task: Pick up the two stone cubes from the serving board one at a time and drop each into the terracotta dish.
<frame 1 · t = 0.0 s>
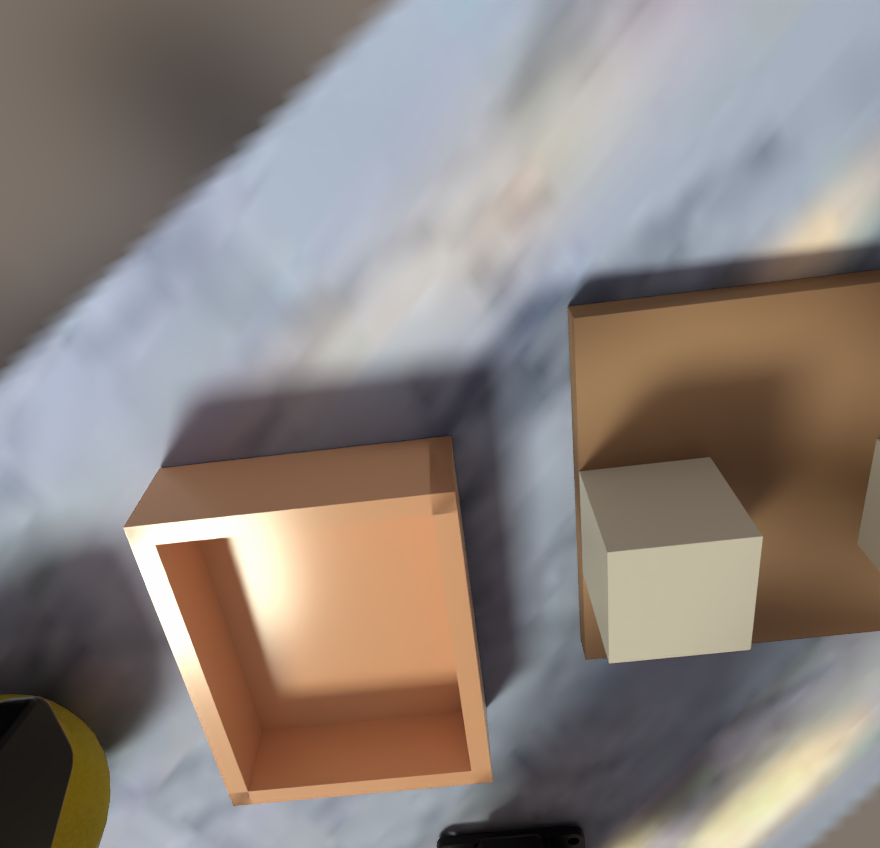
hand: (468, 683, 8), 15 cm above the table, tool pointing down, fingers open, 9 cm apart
board: (774, 472, 24), on the table
lemon: (44, 719, 29), on the table
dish: (339, 600, 26), on the table
stone a: (643, 517, 23), point 1 cm above the table, touching board
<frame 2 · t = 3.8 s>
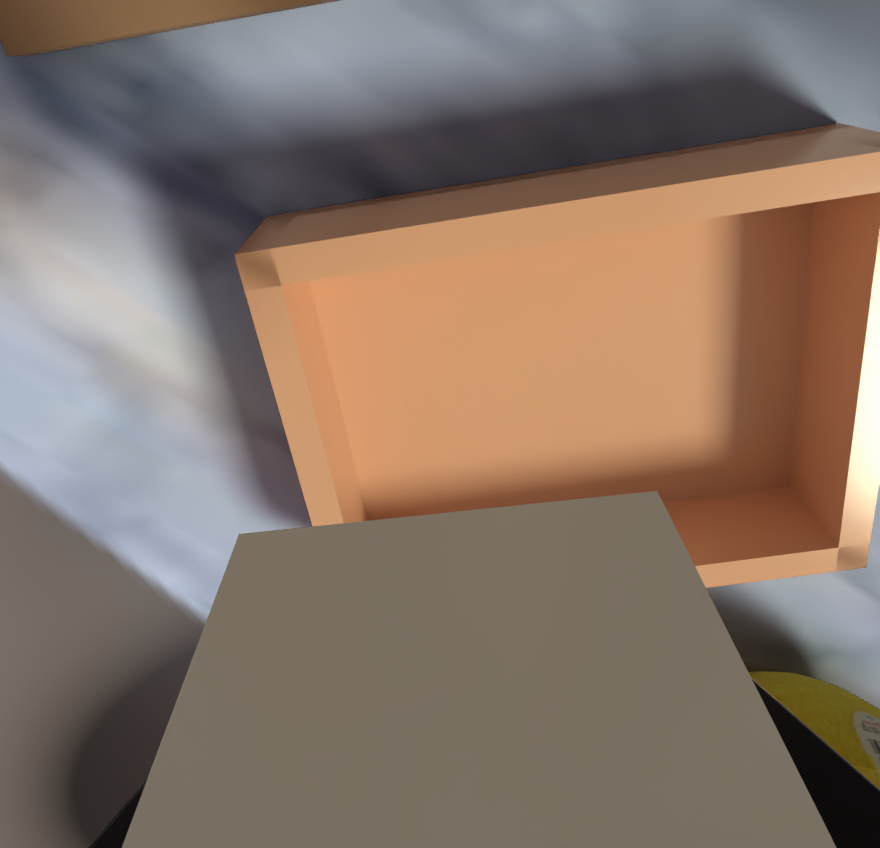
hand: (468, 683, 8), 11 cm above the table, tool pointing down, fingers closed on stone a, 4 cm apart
lemon: (733, 698, 24), on the table
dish: (562, 367, 18), on the table
stone a: (466, 664, 8), point 11 cm above the table, touching gripper
when the fingers open (4 cm above the table, at t = 5.3 s): stone a drops 3 cm, resting on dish.
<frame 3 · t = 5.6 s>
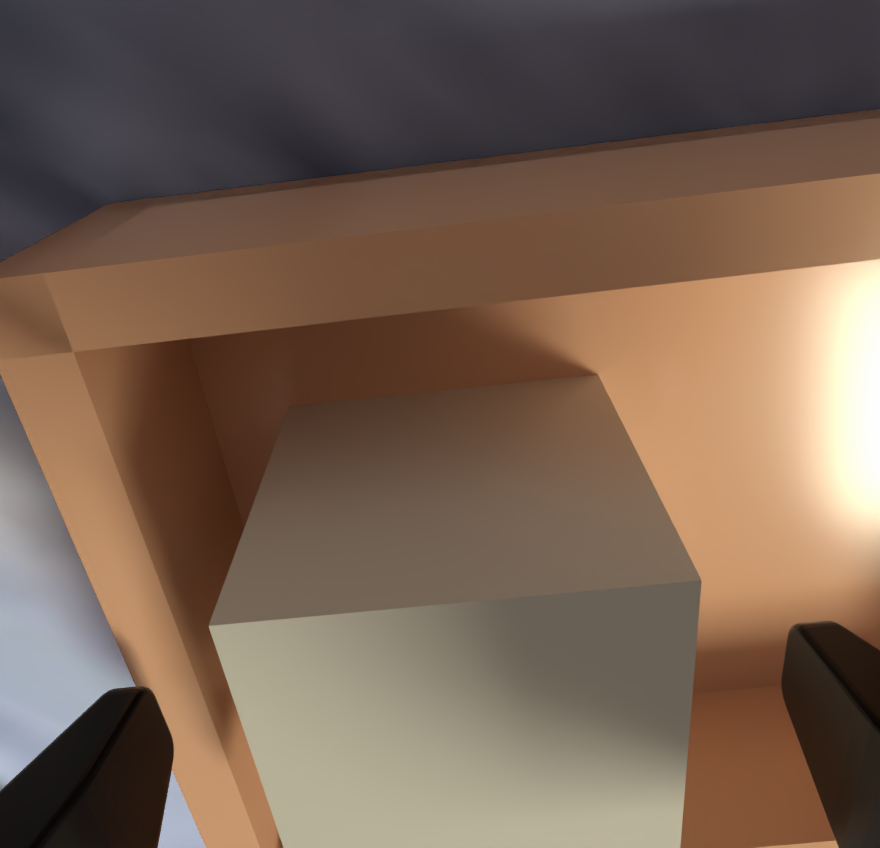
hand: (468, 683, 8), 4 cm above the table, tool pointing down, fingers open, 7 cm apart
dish: (622, 476, 11), on the table
stone a: (457, 517, 10), point 1 cm above the table, touching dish
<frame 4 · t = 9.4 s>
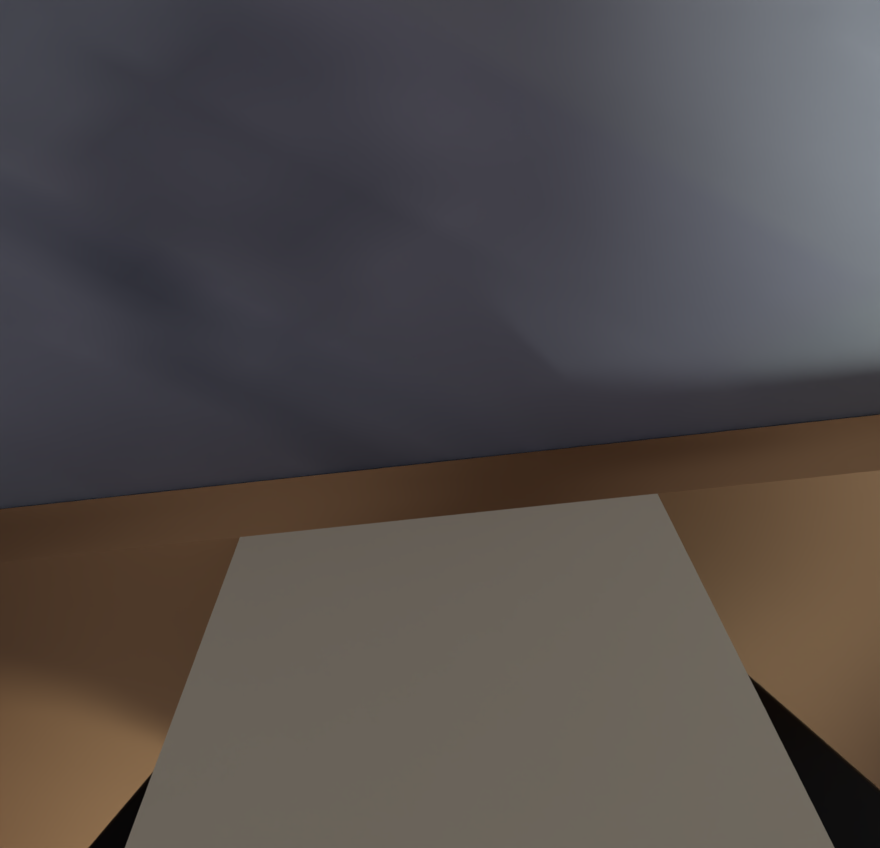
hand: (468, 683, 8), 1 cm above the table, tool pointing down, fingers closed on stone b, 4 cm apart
board: (459, 836, 11), on the table
stone b: (466, 666, 8), point 1 cm above the table, touching board, gripper
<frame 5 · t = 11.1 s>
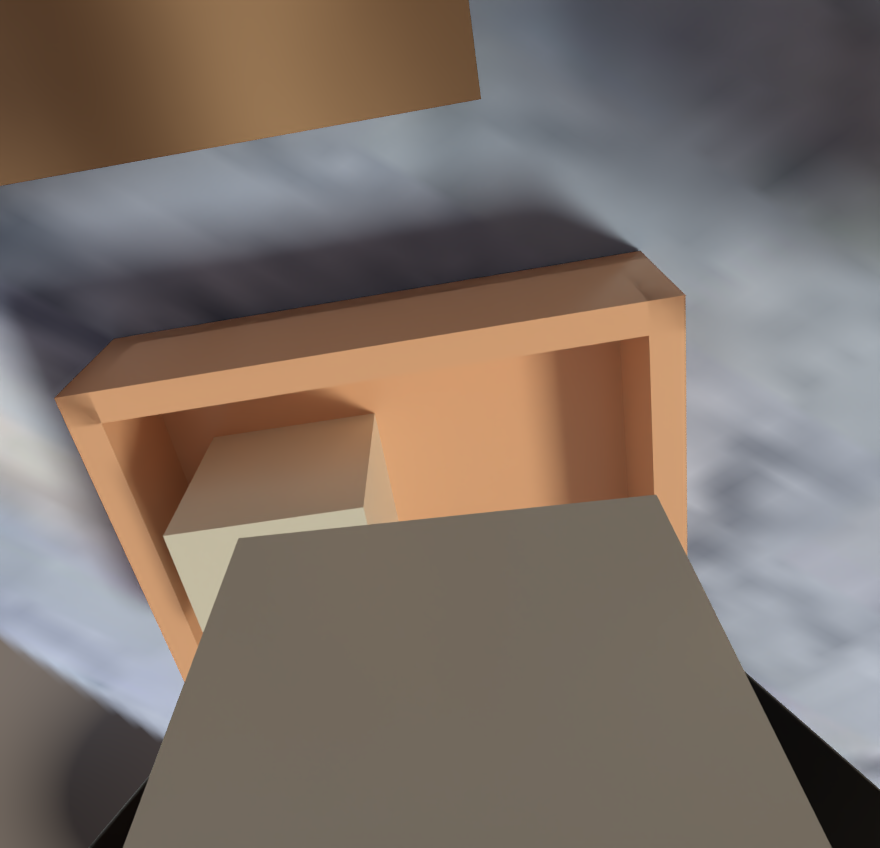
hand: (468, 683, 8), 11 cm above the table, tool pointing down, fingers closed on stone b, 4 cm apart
stone b: (465, 668, 8), point 11 cm above the table, touching gripper
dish: (408, 466, 19), on the table
stone a: (313, 493, 19), point 1 cm above the table, touching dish
when the fingers open (4 cm above the table, at t = 12.8 s): stone b drops 3 cm, resting on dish.
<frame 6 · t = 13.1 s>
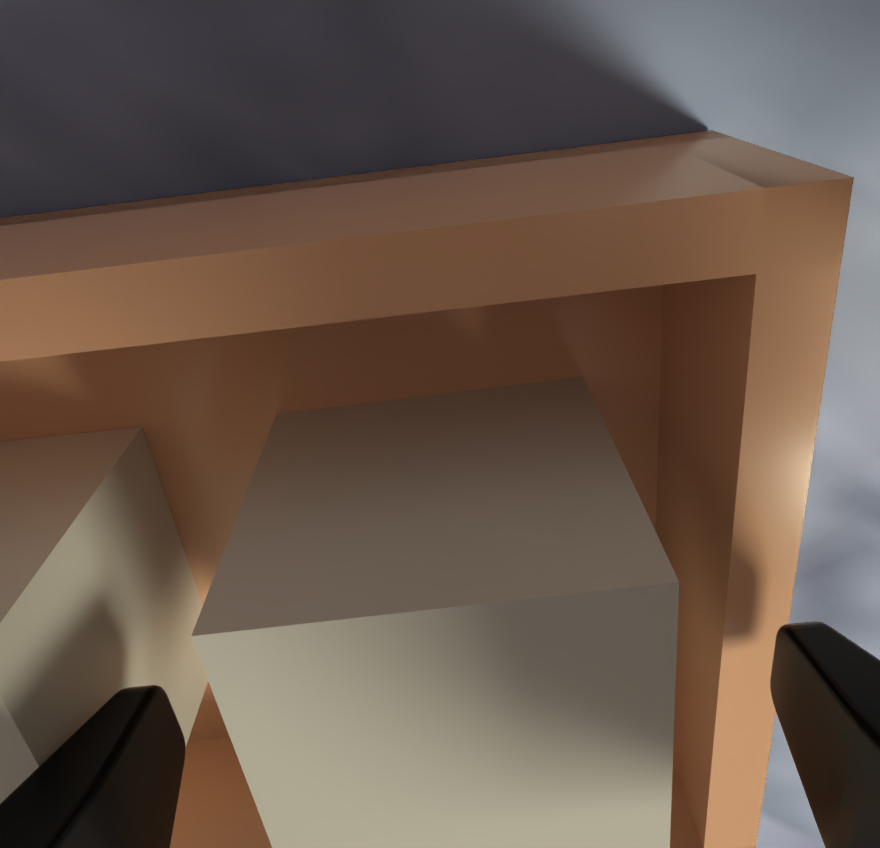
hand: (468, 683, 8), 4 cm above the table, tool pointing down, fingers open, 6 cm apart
stone b: (446, 521, 10), point 1 cm above the table, touching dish
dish: (278, 513, 11), on the table
stone a: (47, 562, 11), point 1 cm above the table, touching gripper
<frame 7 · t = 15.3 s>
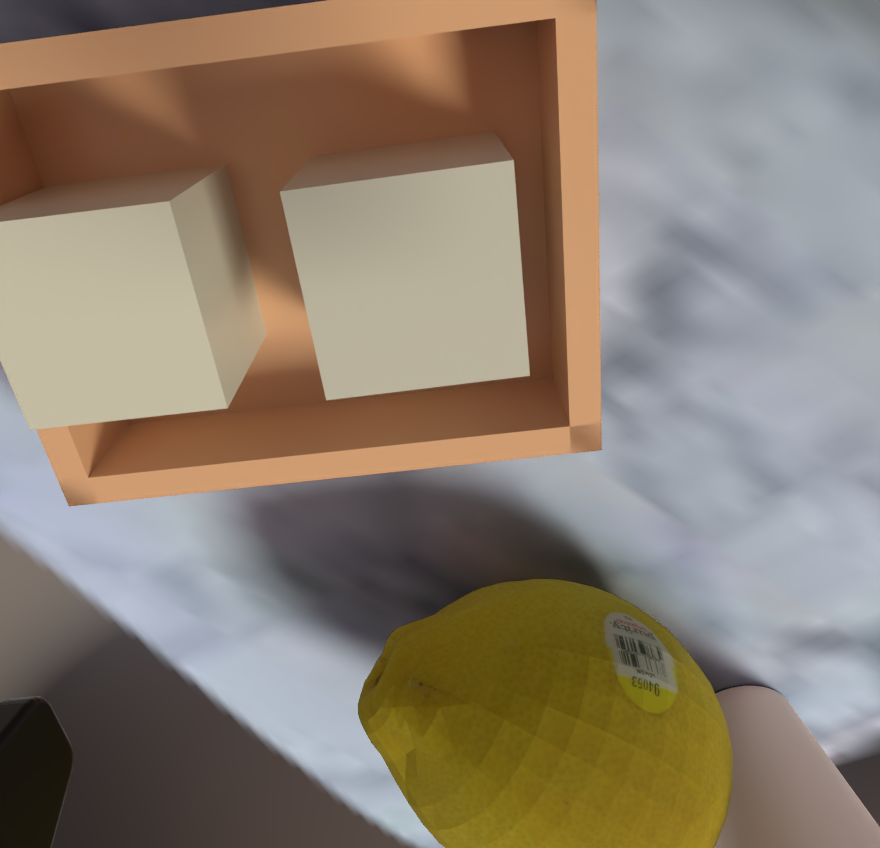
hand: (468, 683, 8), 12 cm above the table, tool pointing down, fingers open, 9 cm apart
lemon: (534, 617, 24), on the table
smoothie: (736, 718, 26), on the table
stone b: (415, 235, 17), point 1 cm above the table, touching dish
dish: (310, 240, 17), on the table
stone a: (163, 263, 17), point 1 cm above the table, touching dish
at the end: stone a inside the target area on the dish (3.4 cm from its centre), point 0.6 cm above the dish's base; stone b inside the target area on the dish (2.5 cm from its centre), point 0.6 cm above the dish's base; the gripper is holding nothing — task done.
